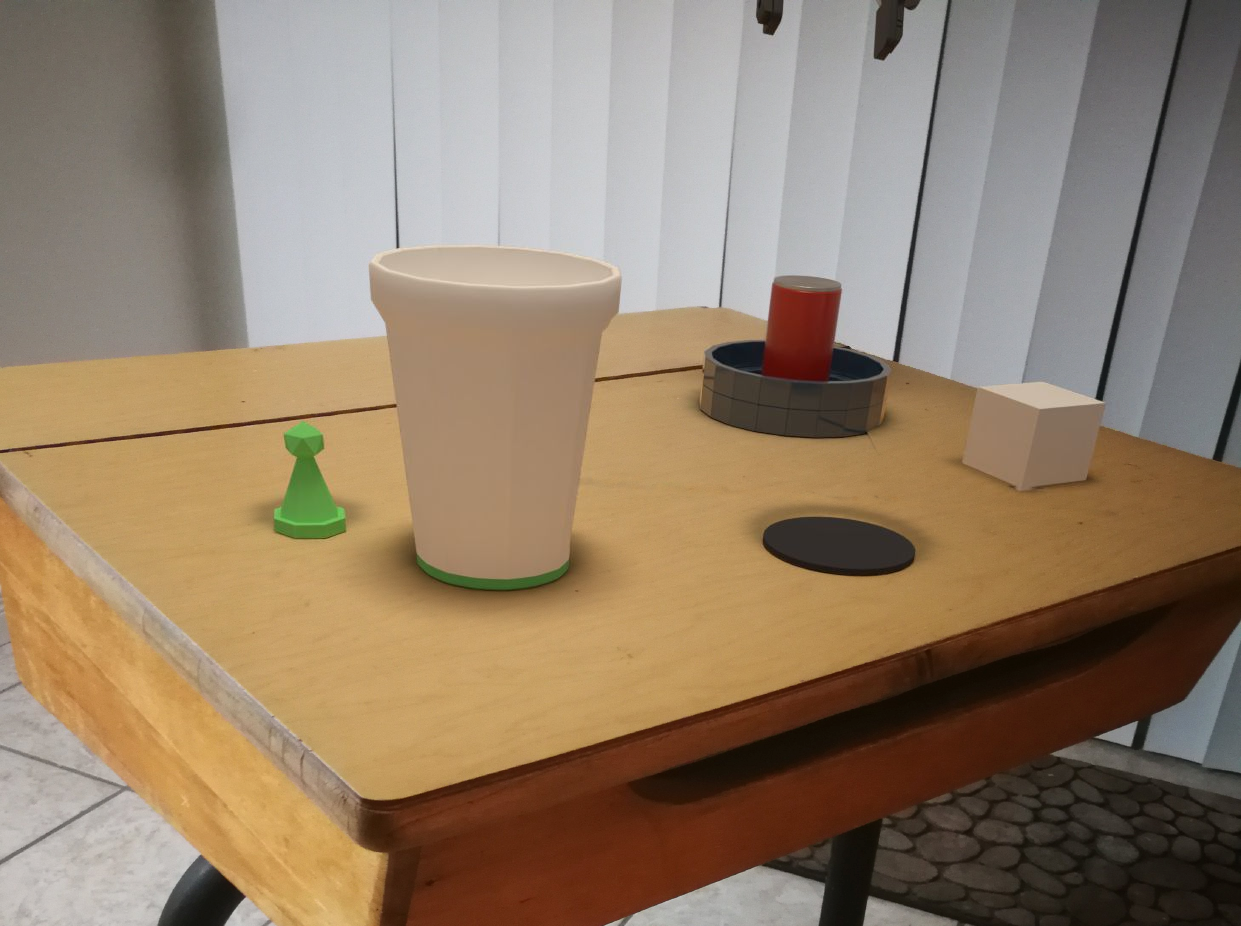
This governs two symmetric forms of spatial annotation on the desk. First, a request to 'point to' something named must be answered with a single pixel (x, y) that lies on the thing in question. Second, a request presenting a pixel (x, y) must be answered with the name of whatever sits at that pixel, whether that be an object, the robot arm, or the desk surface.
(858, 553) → the coaster
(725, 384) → the dish
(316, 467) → the game piece
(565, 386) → the cup
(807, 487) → the desk surface
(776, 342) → the can
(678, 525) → the desk surface
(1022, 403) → the beige cube
